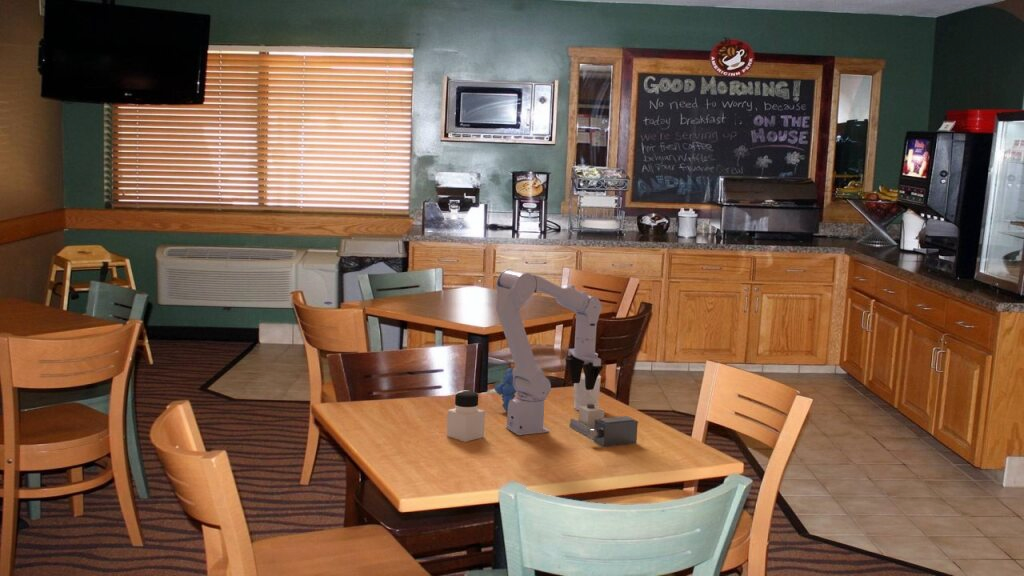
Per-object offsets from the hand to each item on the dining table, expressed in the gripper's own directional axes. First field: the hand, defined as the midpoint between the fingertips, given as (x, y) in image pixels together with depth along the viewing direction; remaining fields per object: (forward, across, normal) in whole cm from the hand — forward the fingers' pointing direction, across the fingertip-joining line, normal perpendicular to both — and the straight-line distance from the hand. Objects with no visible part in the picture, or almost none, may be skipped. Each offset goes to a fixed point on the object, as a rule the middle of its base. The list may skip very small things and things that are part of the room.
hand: (582, 386), depth 270 cm
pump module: (+9, -7, +1) cm, 12 cm away
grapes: (+10, +18, +14) cm, 26 cm away
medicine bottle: (+11, -3, +36) cm, 38 cm away
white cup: (+10, +12, -9) cm, 18 cm away
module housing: (+10, -13, +3) cm, 17 cm away
